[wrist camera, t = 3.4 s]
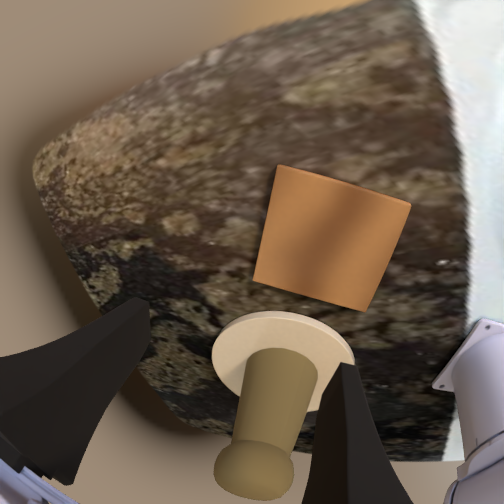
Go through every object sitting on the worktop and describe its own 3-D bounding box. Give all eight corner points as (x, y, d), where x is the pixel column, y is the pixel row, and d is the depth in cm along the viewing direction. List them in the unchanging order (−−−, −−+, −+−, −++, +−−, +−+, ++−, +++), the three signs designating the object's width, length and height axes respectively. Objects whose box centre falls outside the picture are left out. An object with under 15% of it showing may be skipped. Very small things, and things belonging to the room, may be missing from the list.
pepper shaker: (270, 400, 27) (238, 507, 18) (231, 358, 26) (181, 474, 16) (330, 385, 25) (311, 508, 15) (294, 338, 23) (259, 476, 14)
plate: (379, 335, 22) (380, 342, 21) (326, 416, 28) (325, 423, 27) (222, 290, 23) (219, 297, 23) (209, 384, 30) (206, 390, 29)
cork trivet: (410, 202, 17) (411, 205, 17) (365, 308, 21) (365, 312, 21) (278, 163, 18) (277, 165, 18) (254, 276, 22) (252, 280, 22)
